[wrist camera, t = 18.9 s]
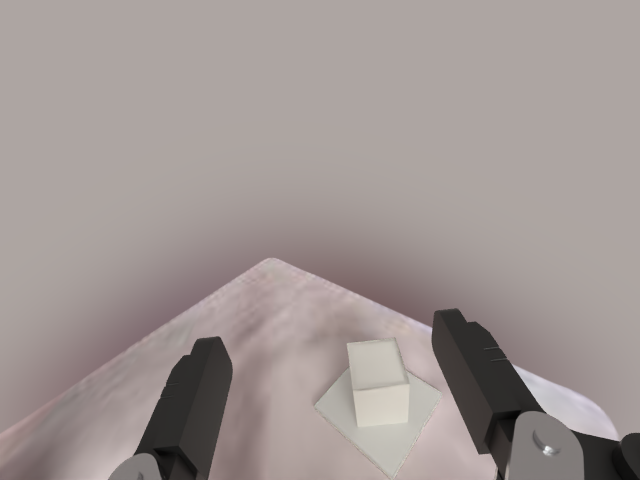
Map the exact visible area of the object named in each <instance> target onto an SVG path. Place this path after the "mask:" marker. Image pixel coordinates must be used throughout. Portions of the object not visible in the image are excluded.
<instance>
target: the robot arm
mask: <svg viewBox="0 0 640 480" xmlns="http://www.w3.org/2000/svg"><path fill="white" fill-rule="evenodd" d="M432 347H433V351H434V354H435V357H436V359H437V361H438V363H439V366H440V368H441V370H442V372H443V375H444V377H445V379H446V381H447V384H448V386H449V388H450V390H451V393H452V395H453V397H454V399H455V402H456V404H457V406H458V409H459V411H460V413H461V415H462V418H463V420H464V422H465V424H466V427H467V429H468V431H469V433H470V436H471V438H472V440H473V442H474V445H475V447H476V449H477V451H478V454H489V453H491V455H492V457H493V459H494V461H495V463H496V471H495V477H494V480H640V433H631V434H629V435H626V436H625V437H624V438H623V439H622V440H621V441H620V442H619V441H614V440H610V439H605V438H601V437H596V436H592V435H587V434H583V433H579V432H576V431H573V430H571V429H569V428H568V427H566V426H565V425H564V424H563V423H562V422H560V421H559V420H557V419H556V418H554V417H552V416H550V415H548V414H547V413H546V412H545V411H544V410H543V409H542V408H541V406H540V405H539V404H538V402H537V401H536V399H535V398H534V397H533V395H532V394H531V392H530V391H529V389H528V388H527V386H526V385H525V383H524V382H523V380H522V379H521V378H520V376H519V375H518V373H517V372H516V370H515V369H514V367H513V366H512V364H511V363H510V362H509V360H507V357H506V356H505V354H504V353H503V351H502V350H501V349H500V348H499V346H498V344H497V343H496V341H495V340H494V338H493V337H492V336H491V334H490V332H488V331H487V330H486V329H484V328H483V327H482V326H481V325H479V324H478V323H477V322H468V323H467V322H466V320H465V318H464V317H463V315H462V314H461V312H460V311H459V310H458V309H456V308H455V309H448V310H438V311H435V313H434V321H433V329H432ZM232 373H233V369H232V362H231V359H230V357H229V355H228V353H227V351H226V348H225V346H224V344H223V342H222V340H221V338H220V337H218V336H217V337H209V338H201V339H197V340H196V342H195V344H194V346H193V349H192V351H191V354H190V355H184V356H183V357H182V358H181V359H180V360H179V362H178V363H177V364H176V365H175V366H174V368H173V369H172V371H171V373H170V376H169V378H168V380H167V382H166V387H164V389H163V391H162V394H161V398H160V399H159V400H158V403H157V405H156V407H155V410H154V412H153V414H152V416H151V419H150V421H149V423H148V425H147V428H146V430H145V432H144V434H143V437H142V439H141V441H140V443H139V446H138V448H137V450H136V452H135V453H134V455H133V456H132V457H130V458H129V459H127V460H126V461H124V462H123V463H122V464H121V465H120V466H119V467H118V468H117V469H116V470H115V471H114V472H113V473H112V474H111V476H110V477H109V479H108V480H208V476H209V472H210V468H211V464H212V459H213V455H214V451H215V447H216V443H217V438H218V434H219V430H220V426H221V422H222V418H223V413H224V409H225V405H226V401H227V397H228V392H229V388H230V384H231V380H232Z"/></svg>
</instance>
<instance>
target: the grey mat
mask: <svg viewBox="0 0 640 480" xmlns="http://www.w3.org/2000/svg"><path fill="white" fill-rule="evenodd" d="M406 373H407V376H408V380H409V383H410V390H409V410H408V422H405V423H395V424H385V425H375V426H366V427H357V419H356V412H355V404H354V397H353V389H352V381H351V373H350V366H349V367H348V368H347V369H346V370H345V371H344V372H343V374H342V375H341V376H340V377H339V378H338V379H337V380H336V381H335V383H334V384H333V385H332V386H331V387H330V388H329V389H328V390H327V392H326V393H325V394H324V395H323V396H322V397H321V398H320V399H319V401H318V402H317V403H316V404H315V405H314V407H315V410H316V411H317V412H318V413H319V414H321V415H322V416H323V417H324V418H325V419H326V420H327V421H328V422H329V423H330V424H331V425H332V426H334V427H335V428H336V429H337V430H338V431H339V432H340V433H341V434H342V435H343V436H344V437H345V438H347V439H348V440H349V441H350V442H351V443H352V444H353V445H354V446H355V447H356V448H357V449H358V450H360V451H361V452H362V453H363V454H364V455H365V456H366V457H367V458H368V459H369V460H370V461H371V462H373V463H374V464H375V465H376V466H377V467H378V468H379V469H380V470H381V471H382V472H383V473H384V474H386V475H387V476H388V477H389V478H390V479H391V480H394V478H395V476H396V475H397V473H398V471H399V469H400V468H401V466H402V464H403V463H404V461H405V459H406V457H407V456H408V454H409V452H410V451H411V449H412V447H413V445H414V444H415V442H416V440H417V438H418V437H419V435H420V433H421V432H422V430H423V428H424V426H425V425H426V423H427V421H428V419H429V418H430V416H431V414H432V413H433V411H434V409H435V407H436V406H437V404H438V402H439V400H440V399H441V396H442V393H441V392H440V391H438V390H437V389H435V388H433V387H432V386H430V385H428V384H427V383H425V382H424V381H422V380H420V379H419V378H417V377H416V376H414V375H412V374H411V373H409V372H408V371H406Z"/></svg>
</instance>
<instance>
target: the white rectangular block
mask: <svg viewBox="0 0 640 480" xmlns="http://www.w3.org/2000/svg"><path fill="white" fill-rule="evenodd" d="M347 349H348V357H349V365H350V373H351V381H352V389H353V397H354V404H355V412H356V419H357V427H366V426H375V425H385V424H395V423H405V422H408V410H409V390H410V383H409V380H408V376H407V373H406V370H405V367H404V364H403V361H402V357H401V354H400V351H399V348H398V345H397V342H396V338H389V339H380V340H371V341H362V342H353V343H347Z"/></svg>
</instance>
